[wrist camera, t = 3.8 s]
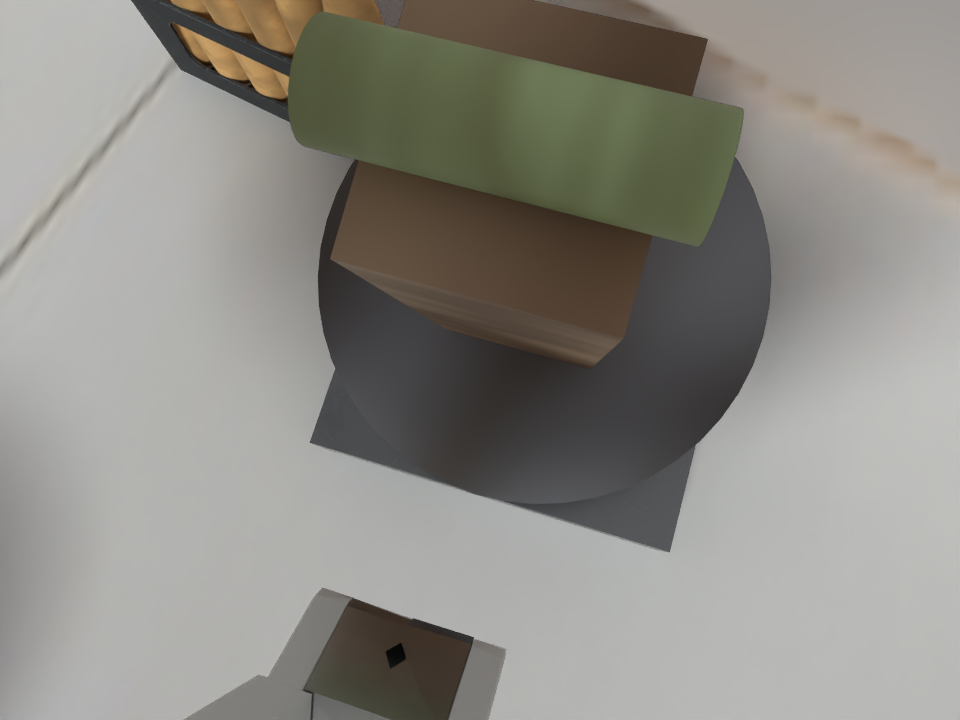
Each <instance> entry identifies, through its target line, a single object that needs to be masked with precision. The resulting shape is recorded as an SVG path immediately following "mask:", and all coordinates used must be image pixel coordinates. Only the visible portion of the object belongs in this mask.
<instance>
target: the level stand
mask: <svg viewBox="0 0 960 720" xmlns="http://www.w3.org/2000/svg"><path fill="white" fill-rule="evenodd" d="M310 443H312V444H315V445H318V446H320V447H323V448H325V449H329V450H332V451H335V452H338V453H342V454H345V455H348V456H352V457H355V458H358V459H361V460H365V461H368V462H371V463H374V464H378V465H381V466H384V467H388V468H391V469H394V470H397V471H401V472H404V473H407V474H411V475H414V476H417V477H420V478H424V479H427V480H430V481H433V482H437V483H440V484H443V485H447V486H450V487H453V488H456V489H460V488H457V487H455V486H452V485H449V484H447V483H445V482H443V481H441V480H440V479H438V478H436V477H434V476H432V475H430V474H428V473H427V472H425V471H423V470H421V469H420V468H418V467H417V466H416V465H414V464H413V463H411V462H410V461H409V460H407V459H406V458H404V457H403V456H402V455H400V454H399V453H398V452H397V451H396V450H394V449H393V448H392V447H391V446H390V445H389V444H388V443H387V442H386V441H385V440H384V439H383V438H382V437H381V436H380V435H379V434H378V433H377V432H376V431H375V430H374V429H373V428H372V426H371V425H370V424H369V423H368V421H367V420H366V419H365V418H364V416H363V415H362V414H361V413H360V412H359V410H358V409H357V407H356V405H355V404H354V402H353V401H352V399H351V397H350V396H349V394H348V392H347V391H346V389H345V388H344V386H343V384H342V381H341V379H340V377H339V375H338V373H337V370H336V369H335V372H334V374H333V377H332V380H331V383H330V386H329V389H328V392H327V395H326V397H325V400H324V403H323V406H322V409H321V412H320V415H319V418H318V420H317V423H316V426H315V429H314V432H313V435H312V438H311V441H310ZM694 450H695V446H693V447H692V448H691V449H690V450H689V451H687V452H686V453H685V454H684V455H683V456H681V457H680V458H679V459H678V460H676V461H675V462H673V463H672V464H670V465H668V466H667V467H665V468H664V469H662V470H660V471H659V472H657V473H656V474H654V475H653V476H651V477H649V478H647V479H644V480H642V481H640V482H638V483H636V484H633V485H631V486H629V487H627V488H625V489H622V490H619V491H616V492H612V493H609V494H606V495H602V496H599V497H596V498H592V499H585V500H579V501H573V502H567V503H550V504H529V503H519V502H508V501H502V500H497V499H493V498H489V497H486V498H489V499H492V500H496V501H499V502H502V503H506V504H509V505H512V506H515V507H519V508H522V509H525V510H528V511H532V512H535V513H538V514H542V515H545V516H548V517H551V518H555V519H558V520H561V521H564V522H568V523H571V524H574V525H578V526H581V527H584V528H587V529H591V530H594V531H597V532H600V533H604V534H607V535H610V536H614V537H617V538H620V539H623V540H627V541H630V542H633V543H637V544H640V545H643V546H646V547H650V548H653V549H656V550H660V551H665V552H670V549H671V545H672V540H673V536H674V532H675V528H676V524H677V520H678V516H679V512H680V507H681V503H682V499H683V495H684V491H685V487H686V483H687V478H688V474H689V470H690V466H691V462H692V458H693V454H694ZM460 490H463V489H460ZM463 491H465V490H463ZM466 492H468V491H466ZM469 493H471V492H469ZM479 496H480V495H479ZM483 497H485V496H483Z"/></svg>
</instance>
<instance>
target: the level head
mask: <svg viewBox="0 0 960 720" xmlns="http://www.w3.org/2000/svg"><path fill="white" fill-rule="evenodd" d="M707 40H708V39H706V38H701V37H697V36H692V35H688V34H683V33H679V32H674V31H670V30H665V29H661V28H656V27H652V26H647V25H643V24H638V23H634V22H629V21H625V20H620V19H616V18H611V17H607V16H602V15H597V14H593V13H588V12H584V11H579V10H575V9H570V8H566V7H561V6H557V5H552V4H548V3H543V2H539V1H534V0H405V3H404V6H403V9H402V13H401V16H400V20H399V23H398V27H397V28H394V27H389V26H385V25H381V24H376V23H372V22H368V21H363V20H359V19H355V18H350V17H346V16H342V15H337V14H333V13H329V12H319V13H317V14H315V15H314V16H313V17H312V18H311V19H310V20H309V21H308V23H307V24H306V26H305V27H304V29H303V31H302V33H301V35H300V38H299V40H298V42H297V45H296V48H295V51H294V55H293V59H292V64H291V69H290V75H289V84H288V112H289V119H290V124H291V128H292V131H293V134H294V136H295V138H296V140H297V141H298V142H299V143H300V144H301V145H302V146H305V147H308V148H312V149H316V150H320V151H324V152H328V153H332V154H336V155H340V156H344V157H347V158H351V159H355V161H354V162H353V164H352V165H351V167H350V168H349V170H348V172H347V174H346V176H345V178H344V180H343V182H342V184H341V186H340V188H339V190H338V192H337V194H336V196H335V199H334V202H333V205H332V207H331V210H330V213H329V216H328V218H327V222H326V226H325V231H324V235H323V240H322V244H321V250H320V260H319V271H318V290H319V308H320V314H321V320H322V326H323V332H324V336H325V339H326V342H327V346H328V349H329V352H330V355H331V359H332V361H333V364H334V366H335V368H336V370H337V373H338V375H339V377H340V379H341V381H342V384H343V386H344V388H345V389H346V391H347V392H348V394H349V396H350V397H351V399H352V401H353V402H354V404H355V405H356V407H357V409H358V410H359V412H360V413H361V414H362V415H363V416H364V418H365V419H366V420H367V421H368V423H369V424H370V425H371V426H372V428H373V429H374V430H375V431H376V432H377V433H378V434H379V435H380V436H381V437H382V438H383V439H384V440H385V441H386V442H387V443H388V444H389V445H390V446H391V447H392V448H393V449H394V450H396V451H397V452H398V453H399V454H400V455H402V456H403V457H404V458H406V459H407V460H409V461H410V462H411V463H413V464H414V465H416V466H417V467H418V468H420V469H421V470H423V471H425V472H427V473H428V474H430V475H432V476H434V477H436V478H438V479H440V480H441V481H443V482H445V483H447V484H449V485H452V486H455V487H457V488H460V489H463V490H465V491H468V492H471V493H473V494H476V495H480V496H485V497H489V498H493V499H497V500H502V501H508V502H519V503H529V504H550V503H567V502H573V501H579V500H585V499H592V498H596V497H599V496H602V495H606V494H609V493H612V492H616V491H619V490H622V489H625V488H627V487H629V486H631V485H633V484H636V483H638V482H640V481H642V480H644V479H647V478H649V477H651V476H653V475H654V474H656V473H657V472H659V471H660V470H662V469H664V468H665V467H667V466H668V465H670V464H672V463H673V462H675V461H676V460H678V459H679V458H680V457H681V456H683V455H684V454H685V453H686V452H687V451H689V450H690V449H691V448H692V447H693V446H695V445H696V444H697V443H698V442H699V441H701V439H702V438H703V437H704V436H705V435H706V434H707V433H708V432H709V431H710V430H711V429H712V427H713V426H714V425H715V424H716V423H717V422H718V421H719V420H720V419H721V418H722V416H723V415H724V413H725V412H726V410H727V409H728V408H729V406H730V405H731V403H732V402H733V400H734V399H735V398H736V396H737V395H738V393H739V391H740V390H741V388H742V386H743V384H744V382H745V380H746V378H747V376H748V374H749V372H750V370H751V368H752V366H753V364H754V361H755V358H756V355H757V352H758V349H759V347H760V344H761V341H762V338H763V334H764V329H765V324H766V320H767V315H768V310H769V301H770V286H771V267H770V253H769V244H768V239H767V234H766V229H765V225H764V220H763V216H762V213H761V210H760V207H759V205H758V202H757V199H756V196H755V193H754V191H753V188H752V186H751V184H750V182H749V180H748V178H747V177H746V175H745V173H744V171H743V169H742V167H741V165H740V163H739V161H738V160H737V159H736V157H735V154H736V150H737V147H738V142H739V138H740V134H741V129H742V123H743V115H744V113H743V109H742V108H739V107H735V106H730V105H726V104H722V103H718V102H713V101H709V100H705V99H700V98H696V97H692V94H693V90H694V87H695V83H696V80H697V76H698V72H699V69H700V65H701V62H702V58H703V55H704V51H705V48H706V44H707Z"/></svg>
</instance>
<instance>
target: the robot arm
mask: <svg viewBox="0 0 960 720" xmlns="http://www.w3.org/2000/svg"><path fill="white" fill-rule="evenodd" d="M473 641H474V642H473ZM505 655H506V649H505V648H502V647H499V646H495V645H492V644H489V643H486V642H482V641H479V640H476V639H474V637H471V636H468V635H465V634H461V633H458V632H455V631H452V630H449V629H446V628H442V627H439V626H436V625H433V624H430V623H427V622H423V621H420V620H417V619H414V618H413V619H411V618H408V617H405V616H402V615H399V614H397V613H394V612H391V611H388V610H385V609H382V608H380V607H377V606H374V605H371V604H368V603H365V602H363V601H360V600H357V599H354V598H352V597H349V596H346V595H343V594H340V593H337V592H334V591H331V590H328V589H325V588H322V589H321V590H320V591H319V592H318V593H317V594H316V595H315V596H314V598H313V599H312V601H311V603H310V605H309V606H308V608H307V610H306V611H305V613H304V615H303V617H302V618H301V620H300V622H299V624H298V625H297V627H296V629H295V631H294V632H293V634H292V636H291V638H290V639H289V641H288V643H287V644H286V646H285V648H284V650H283V651H282V653H281V655H280V657H279V658H278V660H277V662H276V664H275V665H274V667H273V669H272V671H271V672H270V674H269V676H268V677H264V676H261V675H257V676H256V677H254V678H252V679H251V680H249V681H247V682H246V683H244V684H242V685H241V686H239V687H237V688H236V689H234V690H232V691H230V692H229V693H227V694H225V695H224V696H222V697H220V698H219V699H217V700H215V701H214V702H212V703H210V704H209V705H207V706H205V707H204V708H202V709H200V710H199V711H197V712H195V713H194V714H192V715H190V716H189V717H187V718H185V719H184V720H488V719H489V715H490V711H491V708H492V704H493V700H494V696H495V693H496V689H497V685H498V682H499V678H500V674H501V671H502V667H503V663H504V660H505Z"/></svg>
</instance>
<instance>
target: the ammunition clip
mask: <svg viewBox="0 0 960 720" xmlns="http://www.w3.org/2000/svg"><path fill="white" fill-rule="evenodd" d="M131 1H132V2H133V3H134V5H135V6H136V8H137V9H138V10H139V12H140V13H141V15H142V16H143V17H144V19H145V20H146V22H147V23H148V24H149V26H150V27H151V29H152V30H153V31H154V33H155V34H156V36H157V37H158V38H159V40H160V41H161V43H162V44H163V45H164V47H165V48H166V50H167V51H168V52H169V54H170V55H171V57H172V58H173V59H174V61H175V62H176V64H177V65H178V66H179V68H180V69H181V70H183V71H185V72H187V73H189V74H191V75H193V76H195V77H197V78H199V79H201V80H203V81H205V82H208V83H210V84H212V85H214V86H216V87H218V88H220V89H222V90H224V91H226V92H228V93H230V94H232V95H234V96H237V97H239V98H241V99H243V100H245V101H247V102H249V103H251V104H253V105H255V106H257V107H259V108H261V109H264V110H266V111H268V112H270V113H272V114H274V115H276V116H278V117H280V118H282V119H284V120H286V121H288V122H290V119H289V112H288V84H289V75H290V69H291V64H292V59H293V55H294V51H295V48H296V45H297V42H298V40H299V38H300V35H301V33H302V31H303V29H304V27H305V26H306V24H307V23H308V21H309V20H310V19H311V18H312V17H313V16H314V15H315V14H317V13H319V12H329V13H333V14H337V15H342V16H346V17H350V18H355V19H359V20H363V21H368V22H372V23H376V24H381V25H383V21H382V18H381V14H380V12H379V9H378V7H377V4H376V2H375V1H374V0H131Z"/></svg>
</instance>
